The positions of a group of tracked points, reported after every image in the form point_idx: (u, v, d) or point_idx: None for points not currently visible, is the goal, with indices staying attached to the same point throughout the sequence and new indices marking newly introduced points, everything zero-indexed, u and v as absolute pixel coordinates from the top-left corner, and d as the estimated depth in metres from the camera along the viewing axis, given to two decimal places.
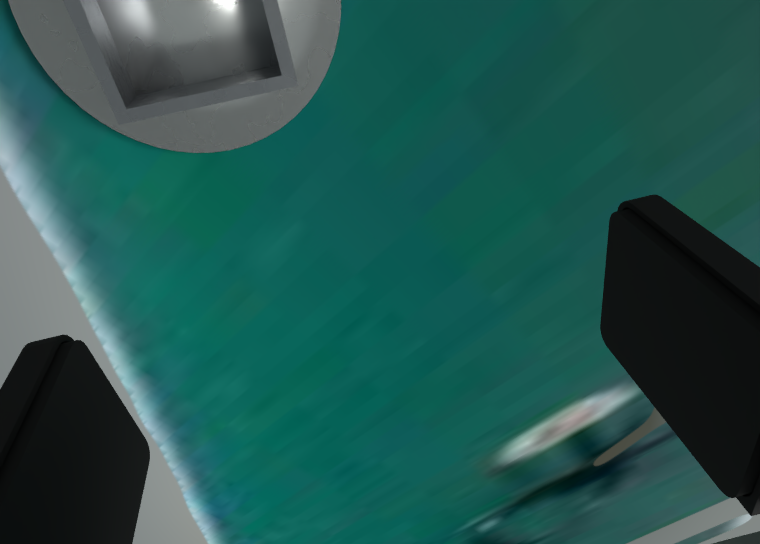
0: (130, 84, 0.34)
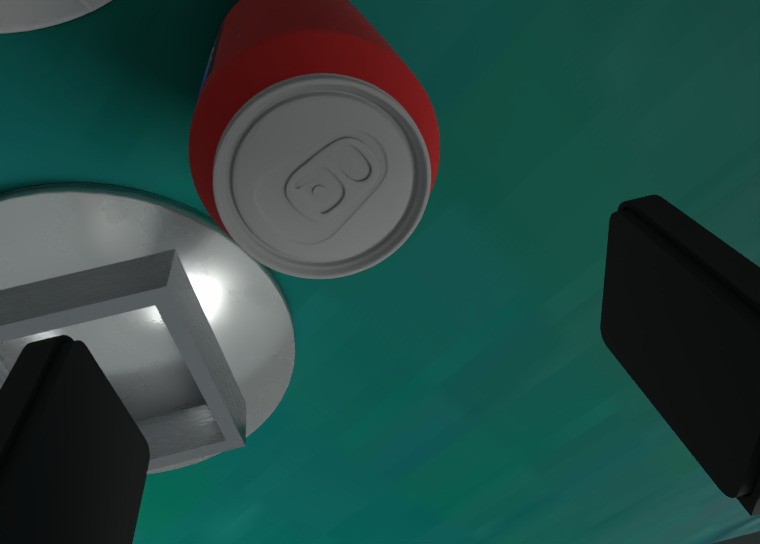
0: None
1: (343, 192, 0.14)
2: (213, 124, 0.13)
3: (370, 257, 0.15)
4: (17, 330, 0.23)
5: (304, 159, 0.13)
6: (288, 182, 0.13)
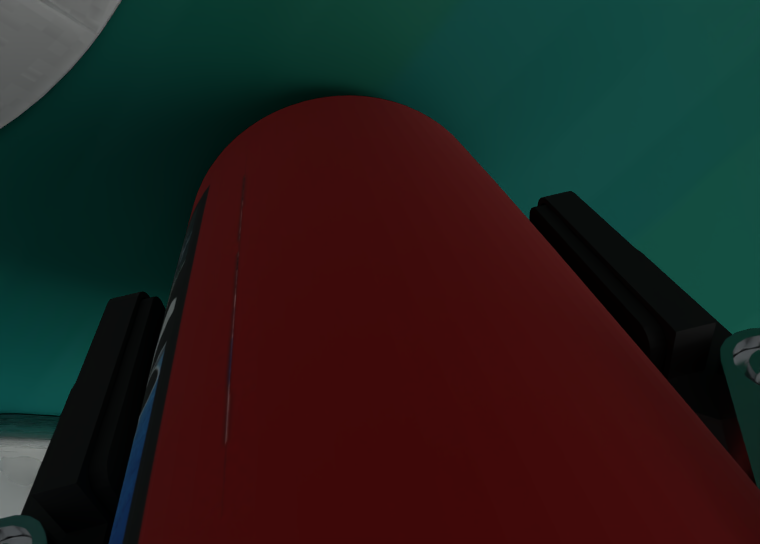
0: None
1: None
2: None
3: None
4: None
5: None
6: None
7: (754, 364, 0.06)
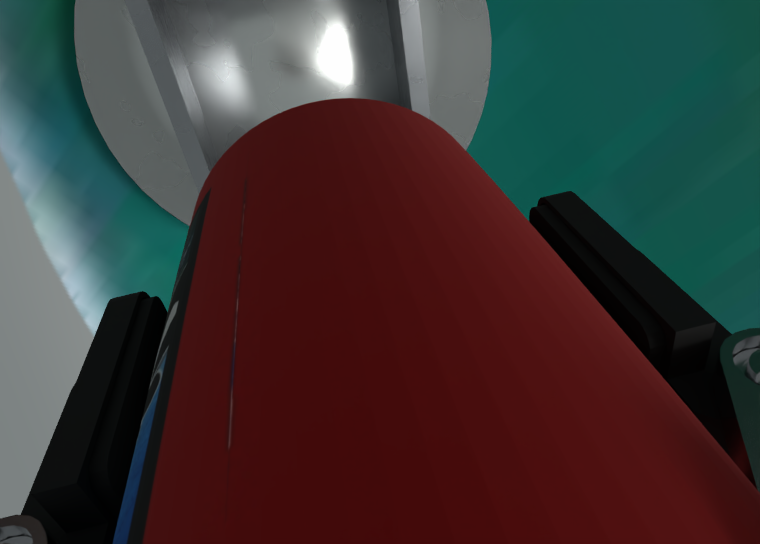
0: None
1: None
2: None
3: None
4: None
5: None
6: None
7: (754, 364, 0.06)
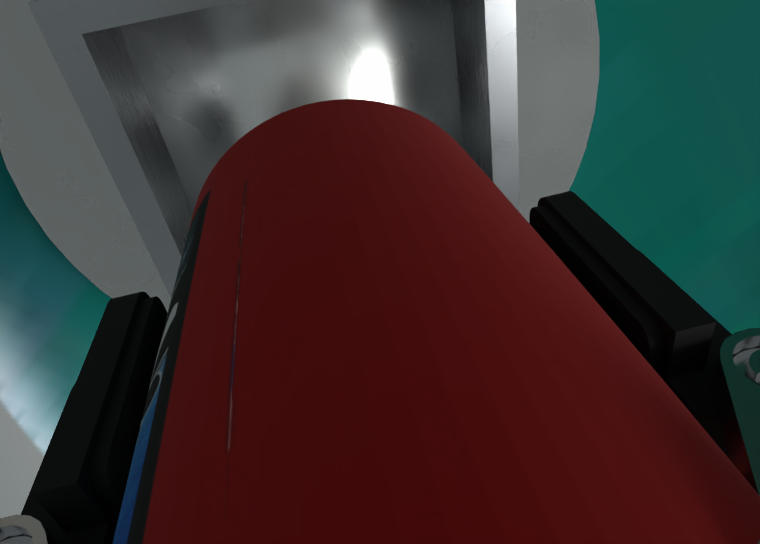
0: None
1: None
2: None
3: None
4: None
5: None
6: None
7: (754, 364, 0.06)
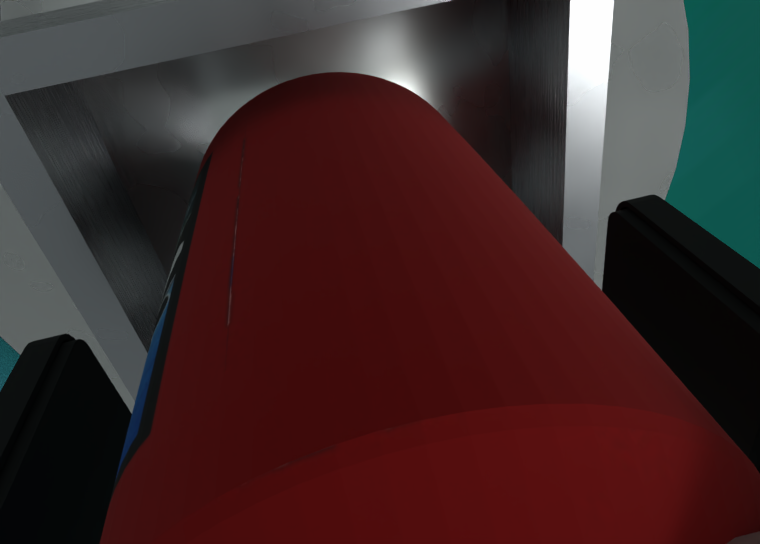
0: None
1: None
2: None
3: None
4: (229, 20, 0.09)
5: None
6: None
7: None
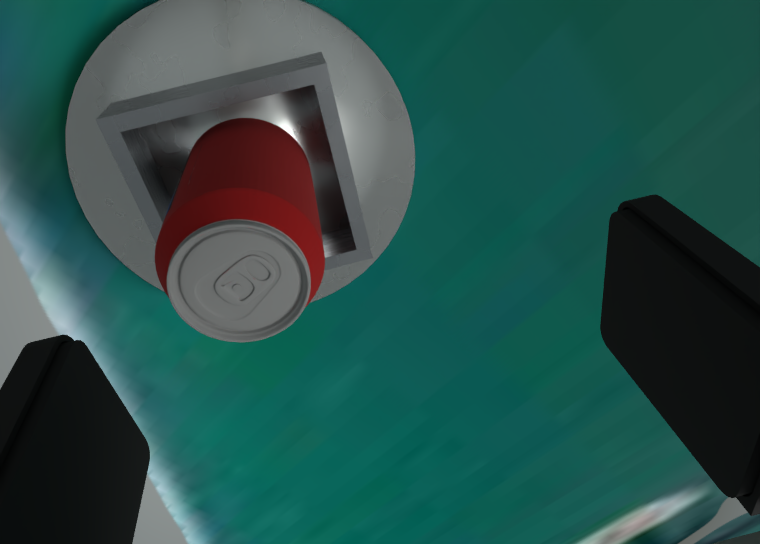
0: None
1: (253, 287, 0.21)
2: (167, 249, 0.20)
3: (277, 326, 0.22)
4: (195, 104, 0.26)
5: (225, 269, 0.21)
6: (216, 282, 0.21)
7: None
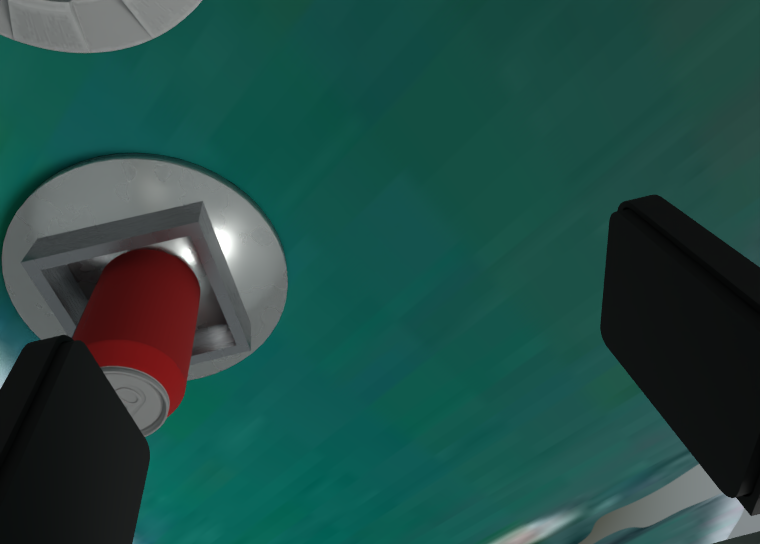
0: None
1: (126, 407, 0.30)
2: None
3: (147, 431, 0.31)
4: (97, 251, 0.34)
5: None
6: None
7: None
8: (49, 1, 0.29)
